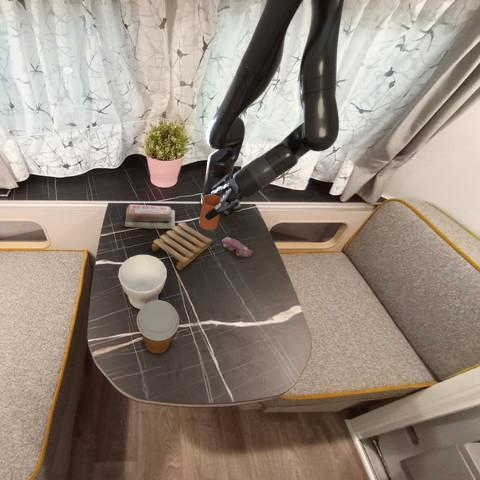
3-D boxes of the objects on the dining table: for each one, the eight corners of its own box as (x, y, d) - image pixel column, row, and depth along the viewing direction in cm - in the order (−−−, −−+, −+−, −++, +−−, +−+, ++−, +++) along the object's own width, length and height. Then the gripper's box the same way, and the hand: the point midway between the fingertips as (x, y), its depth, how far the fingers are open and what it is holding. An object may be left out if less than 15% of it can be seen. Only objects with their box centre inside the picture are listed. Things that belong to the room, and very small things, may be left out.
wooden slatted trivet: (182, 226, 99) (183, 220, 96) (211, 244, 92) (212, 238, 90) (151, 249, 90) (151, 242, 88) (180, 271, 84) (181, 264, 82)
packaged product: (123, 217, 94) (127, 200, 101) (124, 227, 97) (128, 210, 104) (175, 219, 94) (175, 202, 101) (174, 229, 97) (174, 212, 104)
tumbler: (206, 215, 87) (210, 192, 81) (221, 223, 84) (227, 200, 78) (195, 223, 84) (198, 200, 78) (210, 233, 81) (215, 209, 75)
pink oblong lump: (220, 248, 93) (218, 240, 87) (228, 238, 94) (226, 229, 88) (245, 264, 89) (245, 256, 83) (253, 253, 89) (254, 245, 83)
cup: (161, 320, 72) (162, 296, 64) (115, 311, 74) (111, 288, 66) (168, 282, 81) (170, 258, 73) (128, 275, 82) (125, 251, 74)
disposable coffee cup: (139, 322, 72) (138, 297, 63) (175, 324, 71) (179, 299, 63) (136, 359, 65) (134, 336, 56) (176, 361, 65) (180, 338, 56)
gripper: (241, 153, 75) (194, 189, 83) (255, 182, 65) (199, 219, 73) (255, 170, 79) (208, 203, 87) (270, 200, 69) (216, 234, 77)
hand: (204, 210), depth 80 cm, fingers closed on tumbler, 6 cm apart
